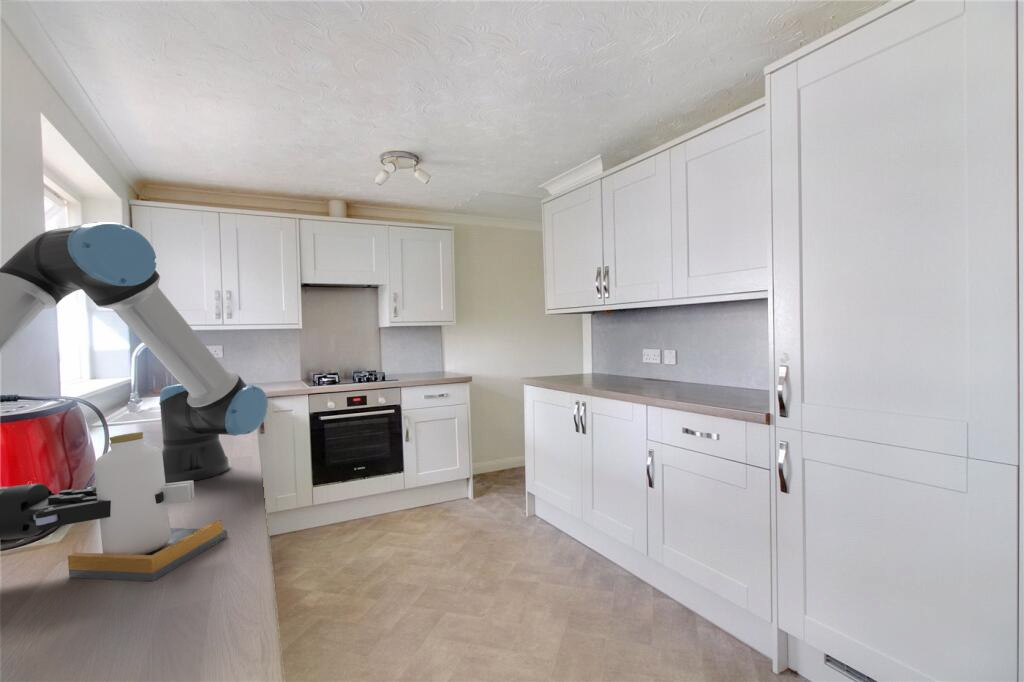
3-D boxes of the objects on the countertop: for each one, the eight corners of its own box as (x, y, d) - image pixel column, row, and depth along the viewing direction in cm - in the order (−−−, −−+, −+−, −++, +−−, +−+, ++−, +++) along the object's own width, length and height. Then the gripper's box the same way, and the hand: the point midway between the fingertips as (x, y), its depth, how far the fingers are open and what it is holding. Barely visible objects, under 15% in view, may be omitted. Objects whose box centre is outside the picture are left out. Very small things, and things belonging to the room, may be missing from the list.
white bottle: (183, 540, 75) (171, 428, 75) (122, 565, 67) (108, 440, 67) (153, 537, 78) (141, 429, 78) (92, 560, 71) (79, 441, 71)
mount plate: (155, 534, 82) (154, 516, 82) (227, 536, 80) (226, 518, 80) (69, 577, 68) (67, 555, 68) (153, 581, 66) (151, 559, 66)
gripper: (40, 520, 76) (207, 499, 82) (-32, 560, 62) (174, 531, 69) (37, 473, 75) (204, 456, 82) (-36, 504, 62) (171, 480, 69)
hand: (191, 490), depth 75 cm, fingers closed
